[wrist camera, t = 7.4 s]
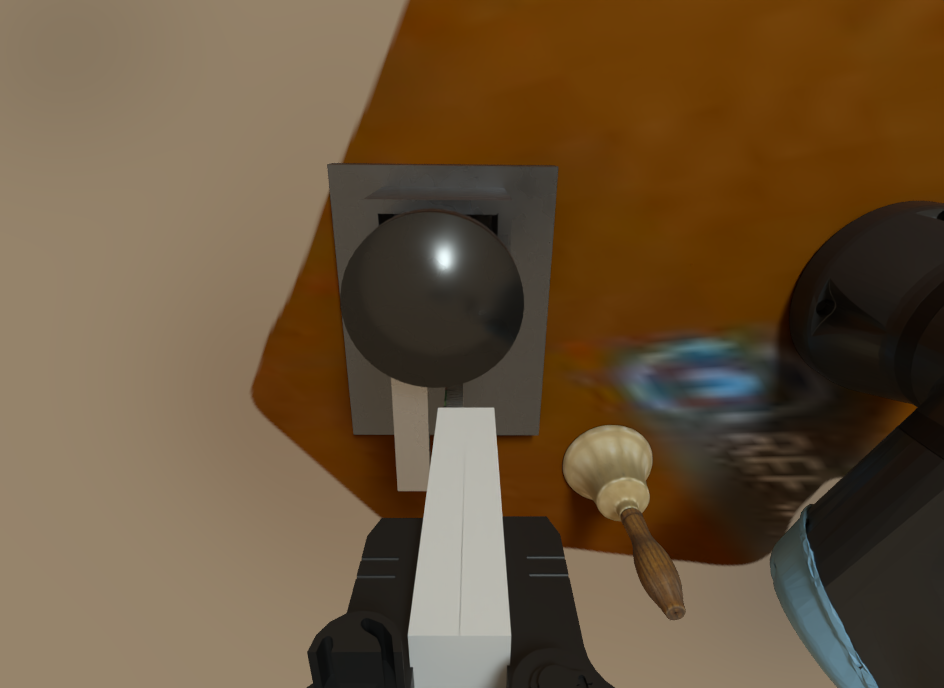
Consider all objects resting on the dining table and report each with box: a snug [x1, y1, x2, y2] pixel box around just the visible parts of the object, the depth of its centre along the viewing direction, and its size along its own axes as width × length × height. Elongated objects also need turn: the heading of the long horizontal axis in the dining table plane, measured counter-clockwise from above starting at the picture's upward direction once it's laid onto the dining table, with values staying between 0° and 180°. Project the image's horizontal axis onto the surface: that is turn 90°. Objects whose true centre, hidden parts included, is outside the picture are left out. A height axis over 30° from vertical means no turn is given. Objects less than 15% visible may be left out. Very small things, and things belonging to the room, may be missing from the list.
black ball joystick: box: [340, 208, 524, 491], centre depth 30 cm, size 9×17×9 cm, turn 179°
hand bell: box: [563, 425, 686, 620], centre depth 39 cm, size 8×8×16 cm
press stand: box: [327, 163, 558, 435], centre depth 34 cm, size 16×22×14 cm
